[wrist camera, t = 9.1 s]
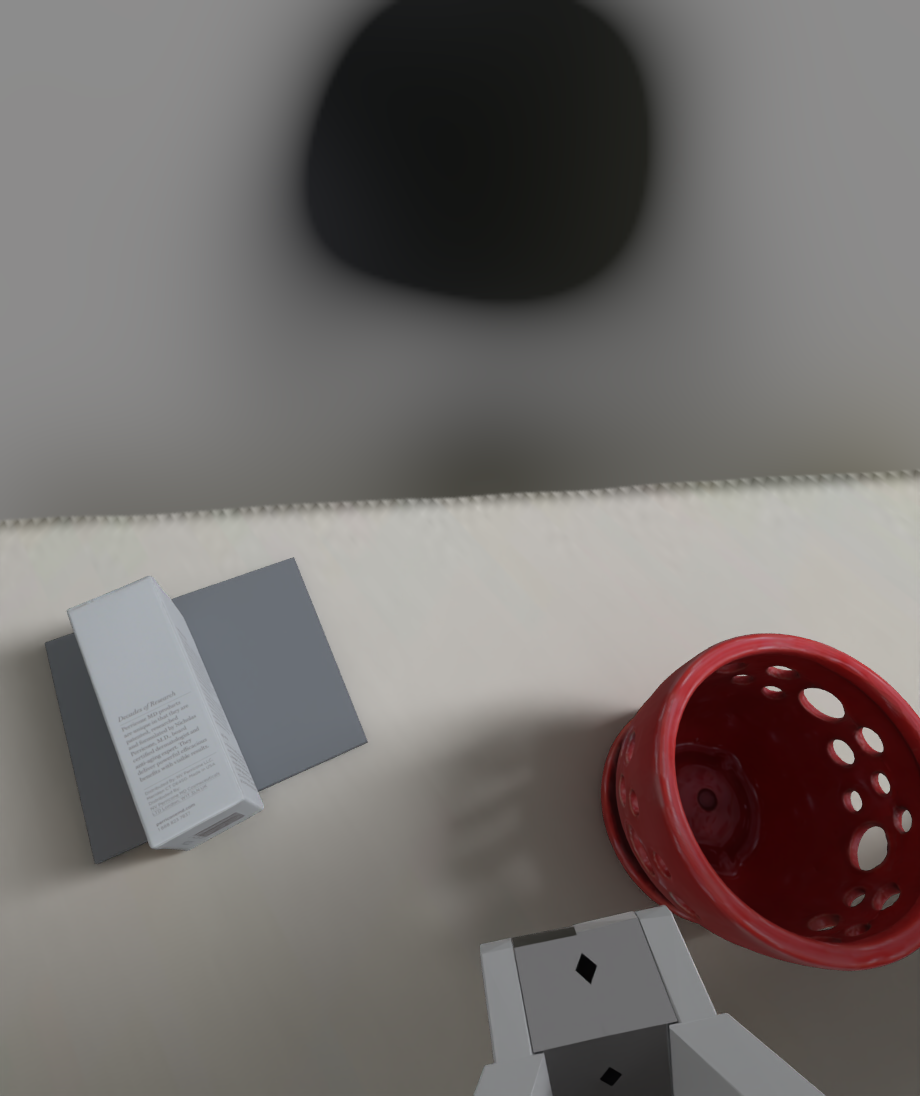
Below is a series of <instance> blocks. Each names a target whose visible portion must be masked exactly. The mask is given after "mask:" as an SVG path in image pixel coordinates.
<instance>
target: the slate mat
mask: <svg viewBox="0 0 920 1096" xmlns="http://www.w3.org/2000/svg"><path fill="white" fill-rule="evenodd" d="M171 600H172V602H173V603H174V605H175V606H176V607H177V609H178V610H179V612H180V613H181V614H182V616H183V617H184V620H185V622H186V624H187V626H188V628H189V631H190V633H191V635H192V637H193V639H194V642H195V644H196V647H197V649H198V652H199V654H200V657H201V659H202V661H203V664H204V666H205V669H206V671H207V673H208V676H209V678H210V680H211V683H212V685H213V687H214V690H215V692H216V694H217V697H218V699H219V702H220V704H221V706H222V709H223V711H224V713H225V716H226V718H227V720H228V723H229V725H230V727H231V730H232V732H233V734H234V737H235V739H236V741H237V743H238V746H239V748H240V751H241V753H242V755H243V758H244V760H245V762H246V765H247V767H248V769H249V772H250V774H251V776H252V779H253V781H254V784H255V786H256V788H257V791H258V792H259V791H261V790H263V789H266V788H268V787H270V786H272V785H274V784H277V783H279V782H281V781H283V780H285V779H288V778H290V777H292V776H294V775H297V774H299V773H301V772H303V771H305V770H308V769H310V768H312V767H314V766H317V765H319V764H321V763H323V762H325V761H328V760H330V759H332V758H334V757H337V756H339V755H341V754H343V753H345V752H348V751H350V750H352V749H354V748H357V747H359V746H361V745H363V744H365V743H367V739H366V736H365V734H364V731H363V729H362V726H361V724H360V721H359V719H358V716H357V714H356V711H355V709H354V706H353V704H352V701H351V699H350V696H349V694H348V691H347V689H346V686H345V684H344V681H343V679H342V676H341V674H340V671H339V669H338V666H337V664H336V661H335V659H334V656H333V654H332V651H331V649H330V646H329V644H328V641H327V639H326V636H325V634H324V631H323V629H322V626H321V624H320V621H319V619H318V616H317V614H316V611H315V609H314V606H313V604H312V601H311V599H310V596H309V594H308V591H307V589H306V586H305V584H304V581H303V579H302V576H301V574H300V571H299V569H298V566H297V564H296V561H295V559H294V557H293V558H290V559H287V560H284V561H281V562H278V563H275V564H273V565H270V566H267V567H264V568H261V569H258V570H255V571H252V572H249V573H246V574H243V575H241V576H238V577H235V578H232V579H229V580H226V581H223V582H220V583H217V584H214V585H211V586H209V587H206V588H203V589H200V590H197V591H194V592H191V593H188V594H185V595H182V596H179V597H177V598H174V599H171ZM45 646H46V650H47V655H48V659H49V663H50V668H51V672H52V677H53V681H54V685H55V690H56V694H57V699H58V703H59V707H60V712H61V716H62V721H63V725H64V729H65V734H66V738H67V742H68V747H69V751H70V756H71V760H72V764H73V769H74V773H75V778H76V782H77V786H78V791H79V795H80V800H81V804H82V808H83V813H84V817H85V822H86V826H87V830H88V835H89V839H90V844H91V848H92V852H93V857H94V861H95V864H99V863H101V862H103V861H106V860H108V859H110V858H112V857H115V856H117V855H119V854H121V853H123V852H126V851H128V850H130V849H132V848H135V847H137V846H139V845H141V844H143V843H146V842H148V840H147V837H146V834H145V831H144V828H143V826H142V823H141V820H140V817H139V815H138V812H137V809H136V806H135V804H134V801H133V798H132V795H131V792H130V790H129V787H128V784H127V781H126V778H125V775H124V773H123V770H122V767H121V764H120V761H119V758H118V755H117V753H116V750H115V747H114V745H113V742H112V739H111V736H110V733H109V730H108V728H107V725H106V722H105V719H104V716H103V714H102V711H101V708H100V705H99V702H98V699H97V696H96V693H95V691H94V688H93V685H92V682H91V679H90V676H89V674H88V671H87V668H86V665H85V662H84V659H83V656H82V653H81V651H80V648H79V645H78V642H77V639H76V637H75V634H74V633H72V634H69V635H66V636H63V637H60V638H57V639H54V640H51V641H49V642H46V643H45Z"/></svg>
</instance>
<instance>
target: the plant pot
mask: <svg viewBox="0 0 920 1096" xmlns="http://www.w3.org/2000/svg"><path fill="white" fill-rule="evenodd" d="M772 666H783V667H787V668H789V669H791V670H782V669H777V668H775V667H772ZM737 675H747V676H737ZM766 686H774V687H777V688H779V689H781V690H782V691H779V692H776V691H771V690H769V689H767V688H765V687H766ZM807 688H819V689H822V690H825V691H827V692H830V693H831V694H833V695H834V696H835V697H836V698H838V700H839V701H840V702H841V703H842V705H843V708H844V712H845V715H844V717H842V718H833V717H830V716H827V715H825V714H823V713H821V712H820V711H819V710H817V709H816V708H815V707H814V706H813V705H811V703H810V702H809V701H808V700H807V698H806V697H805V695H804V689H807ZM863 727H866V728H869V729H871V730H873V731H874V732H875V733H876V734H878V736H879V737H880V739H881V741H882V743H883V747H884V750H883V752H882V753H881V752H877V751H875V750H874V749H872V748H871V747H870V746H869V745H868V744H867V742H866V741H865V739H864V737H863V734H862V729H863ZM836 739H837V740H842V741H844V742H845V743H846V744H847V745H848V746H849V747H850V748H851V750H852V751H853V753H854V757H855V760H854V763H853V764H847V763H846V762H844V761H842V760H841V759H840V758H839V757H838V755H837V754H836V753H835V751H834V748H833V742H834V740H836ZM879 773H882V774H883V775H885V776H886V777H887V779H888V781H889V784H890V791H889V793H888V794H886V793H884V791H883V790H882V788H881V787H880V785H879V782H878V775H879ZM853 791H856V792H858V794H859V796H860V798H861V800H862V807H861V809H860V810H859V811H856V810H854V808H853V806H852V804H851V799H850V797H851V793H852V792H853ZM601 804H602V813H603V818H604V823H605V827H606V830H607V833H608V836H609V839H610V842H611V844H612V846H613V849H614V851H615V853H616V855H617V857H618V859H619V860H620V862H621V864H622V865H623V867H624V869H625V870H626V871H627V873H628V874H629V876H630V877H631V878H632V879H633V881H634V882H635V883H636V884H637V885H638V886H639V888H640V889H641V890H642V891H643V892H644V893H645V894H646V895H648V896H649V897H650V898H651V899H652V900H653V901H655V902H656V903H657V904H659V905H660V906H661V905H665V906H667V908H668V909H669V910H670V911H671V912H672V913H674V914H676V915H677V916H679V917H682V918H684V919H686V920H689V921H692V922H695V923H698V924H700V925H701V926H703V927H704V928H706V929H708V930H709V931H711V932H712V933H714V934H716V935H718V936H720V937H721V938H723V939H725V940H727V941H730V942H732V943H734V944H737V945H739V946H742V947H744V948H747V949H749V950H752V951H755V952H757V953H760V954H763V955H766V956H769V957H772V958H776V959H779V960H782V961H786V962H791V963H795V964H800V965H804V966H810V967H816V968H822V969H830V970H842V971H856V970H867V969H872V968H877V967H882V966H885V965H888V964H891V963H893V962H896V961H899V960H901V959H903V958H905V957H907V956H908V955H910V954H911V953H913V952H914V951H916V950H917V949H919V948H920V718H919V716H918V715H917V714H916V713H915V712H914V710H913V709H912V708H911V706H910V705H909V704H908V703H907V702H906V701H905V700H904V699H903V698H902V697H901V695H900V694H899V693H898V692H897V691H896V690H895V689H894V688H893V687H892V686H891V685H889V684H888V683H887V682H886V681H885V680H884V679H883V678H881V677H880V676H879V675H878V674H876V673H875V672H874V671H872V670H871V669H870V668H868V667H867V666H865V665H864V664H862V663H861V662H859V661H857V660H856V659H854V658H853V657H851V656H849V655H847V654H845V653H844V652H841V651H839V650H837V649H835V648H833V647H831V646H828V645H825V644H822V643H820V642H817V641H813V640H810V639H806V638H802V637H797V636H792V635H784V634H750V635H744V636H739V637H735V638H731V639H728V640H725V641H722V642H720V643H717V644H715V645H713V646H711V647H709V648H708V649H706V650H705V651H703V652H701V653H700V654H698V655H697V656H695V657H694V658H692V659H691V660H690V661H688V662H687V663H685V664H684V665H682V666H681V667H680V668H678V669H677V670H676V671H675V672H674V673H672V674H671V675H670V676H669V677H668V678H667V679H666V680H665V681H664V682H663V683H662V684H661V685H660V686H659V687H658V688H657V689H656V691H655V692H654V693H653V694H652V696H651V697H650V698H649V699H648V700H647V701H646V702H645V703H644V704H643V706H642V707H641V708H640V709H639V711H638V712H637V714H636V715H635V717H634V718H633V719H632V720H631V721H629V722H628V723H627V724H626V725H625V727H624V728H623V729H622V730H621V731H620V733H619V734H618V736H617V737H616V739H615V741H614V742H613V744H612V746H611V748H610V750H609V753H608V756H607V759H606V762H605V766H604V770H603V776H602V784H601ZM905 810H908V811H909V812H910V814H911V817H912V825H911V828H910V830H909V831H908V832H905V831H904V829H903V828H902V814H903V812H904V811H905ZM874 826H878V827H881V828H882V829H883V830H884V832H885V835H886V839H887V855H886V857H885V859H884V861H883V862H882V863H881V864H880V865H878V866H876V867H875V868H873V869H871V870H868V871H865V870H861V869H860V867H859V863H858V856H857V852H858V847H859V842H860V840H861V838H862V836H863V835H864V833H865V832H866V831H867V830H868V829H869V828H871V827H874ZM898 893H900V895H899V898H898V900H897V901H896V902H894V904H893V905H892V906H890V907H887V908H886V909H884V910H881V909H882V907H883V905H884V903H885V902H886V901H887V900H888V899H889V898H890V897H891V896H893V895H895V894H898ZM864 894H865V897H864V899H863V900H862V902H861V903H859V904H858V905H857V906H854V907H851V904H852V902H853V900H854V899H856V898H857V897H859V896H861V895H864ZM832 926H835V927H833V928H832V929H829V930H821V929H823V928H827V927H832ZM819 930H821V931H819Z"/></svg>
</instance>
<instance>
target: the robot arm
mask: <svg viewBox="0 0 920 1096" xmlns="http://www.w3.org/2000/svg"><path fill="white" fill-rule="evenodd" d="M512 939H513V942H512ZM513 945H514V947H513ZM480 959H481V966H482V974H483V982H484V989H485V997H486V1005H487V1012H488V1020H489V1028H490V1035H491V1043H492V1051H493V1058H494V1063H492V1064H488V1065H484V1068H483V1071H482V1073H481V1076H480V1079H479V1081H478V1084H477V1087H476V1089H475V1092H474V1095H473V1096H826V1095H824V1094H823V1093H822V1092H821V1091H820V1090H818V1089H817V1088H816V1087H815V1086H814V1085H812V1084H811V1083H810V1082H809V1081H808V1080H807V1079H805V1078H804V1077H803V1076H802V1075H801V1074H799V1073H798V1072H797V1071H796V1070H795V1069H793V1068H792V1067H791V1066H790V1065H789V1064H788V1063H786V1062H785V1061H784V1060H783V1059H782V1058H780V1057H779V1056H778V1055H777V1054H776V1053H774V1052H773V1051H772V1050H771V1049H770V1048H769V1047H767V1046H766V1045H765V1044H764V1043H763V1042H761V1041H760V1040H759V1039H758V1038H757V1037H755V1036H754V1035H753V1034H752V1033H751V1032H750V1031H748V1030H747V1029H746V1028H745V1027H744V1026H742V1025H741V1024H740V1023H739V1022H738V1021H736V1020H735V1019H734V1018H733V1017H732V1016H731V1015H729V1014H728V1013H722V1014H717V1013H716V1010H715V1008H714V1006H713V1004H712V1002H711V999H710V997H709V995H708V993H707V990H706V988H705V986H704V984H703V981H702V979H701V977H700V975H699V972H698V970H697V968H696V966H695V964H694V961H693V959H692V957H691V955H690V952H689V950H688V948H687V946H686V943H685V941H684V939H683V937H682V935H681V932H680V930H679V928H678V926H677V923H676V921H675V919H674V917H673V914H672V912H671V911H670V910H669V909H668V908H667V906H665V905H661V906H657V907H652V908H648V909H644V910H640V911H635V912H633V911H630V912H626V913H621V914H617V915H613V916H609V917H604V918H600V919H596V920H591V921H587V922H583V923H579V924H574V925H573V926H569V927H564V928H559V929H554V930H549V931H544V932H539V933H534V934H529V935H524V936H519V937H514V938H507V939H502V940H498V941H493V942H489V943H484V944H480Z"/></svg>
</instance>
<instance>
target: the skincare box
mask: <svg viewBox="0 0 920 1096" xmlns="http://www.w3.org/2000/svg"><path fill="white" fill-rule="evenodd" d="M67 614H68V617H69V620H70V622H71V625H72V628H73V631H74V634H75V637H76V639H77V642H78V645H79V648H80V651H81V653H82V656H83V659H84V662H85V665H86V668H87V671H88V674H89V676H90V679H91V682H92V685H93V688H94V691H95V693H96V696H97V699H98V702H99V705H100V708H101V711H102V714H103V716H104V719H105V722H106V725H107V728H108V730H109V733H110V736H111V739H112V742H113V745H114V747H115V750H116V753H117V755H118V758H119V761H120V764H121V767H122V770H123V773H124V775H125V778H126V781H127V784H128V787H129V790H130V792H131V795H132V798H133V801H134V804H135V806H136V809H137V812H138V815H139V817H140V820H141V823H142V826H143V828H144V831H145V834H146V837H147V840H148V843H149V846H150V847H151V848H152V849H179V850H184V851H189V850H191V849H193V848H195V847H196V846H198V845H200V844H202V843H204V842H205V841H207V840H209V839H211V838H212V837H214V836H216V835H218V834H220V833H222V832H224V831H225V830H227V829H229V828H231V827H233V826H234V825H236V824H238V823H240V822H242V821H244V820H246V819H248V818H249V817H251V816H253V815H255V814H256V813H258V812H260V811H261V810H263V808H264V805H263V802H262V800H261V798H260V795H259V793H258V791H257V788H256V786H255V784H254V781H253V779H252V776H251V774H250V772H249V769H248V767H247V765H246V762H245V760H244V758H243V755H242V753H241V751H240V748H239V746H238V743H237V741H236V739H235V737H234V734H233V732H232V730H231V727H230V725H229V723H228V720H227V718H226V716H225V713H224V711H223V709H222V706H221V704H220V702H219V699H218V697H217V694H216V692H215V690H214V687H213V685H212V683H211V680H210V678H209V676H208V673H207V671H206V669H205V666H204V664H203V661H202V659H201V657H200V654H199V652H198V649H197V647H196V644H195V642H194V639H193V637H192V635H191V633H190V631H189V628H188V626H187V624H186V622H185V620H184V617H183V616H182V614H181V613H180V612H179V610H178V609H177V607H176V606H175V605H174V603H173V602H172V600H171V598H170V597H169V596H168V595H167V594H166V593H165V592H164V591H163V589H162V588H161V587H160V586H159V584H158V583H157V582H156V580H155V579H154V578H153V577H152V576H147V577H145V578H142V579H140V580H138V581H135V582H133V583H131V584H128V585H126V586H123V587H121V588H119V589H116V590H114V591H111V592H109V593H106V594H104V595H102V596H99V597H97V598H94V599H92V600H89V601H87V602H84V603H82V604H80V605H77V606H75V607H72V608H69V609H68V610H67Z"/></svg>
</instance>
